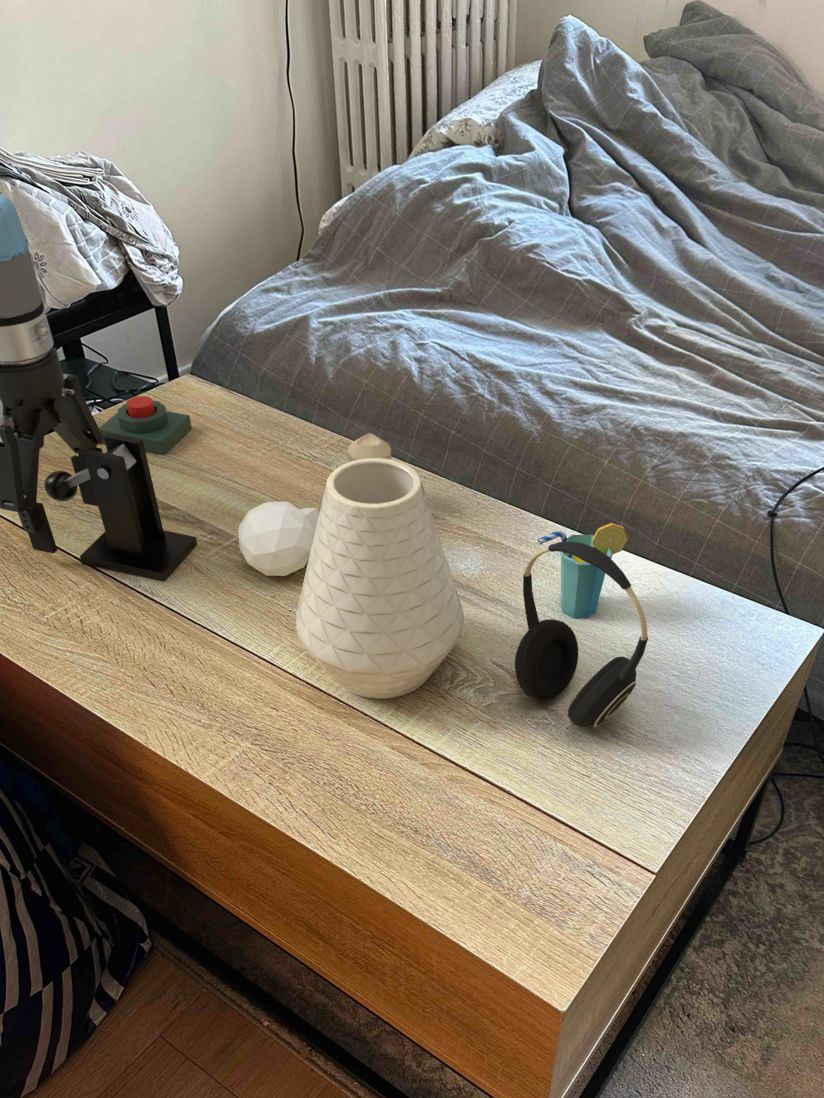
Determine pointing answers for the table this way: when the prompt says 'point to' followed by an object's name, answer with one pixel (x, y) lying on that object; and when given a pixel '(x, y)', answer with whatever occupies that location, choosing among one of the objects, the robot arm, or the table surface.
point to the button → (140, 406)
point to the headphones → (574, 650)
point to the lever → (78, 477)
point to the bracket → (131, 516)
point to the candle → (368, 448)
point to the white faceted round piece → (277, 537)
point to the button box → (150, 428)
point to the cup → (585, 569)
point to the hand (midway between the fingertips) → (71, 526)
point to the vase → (378, 583)
